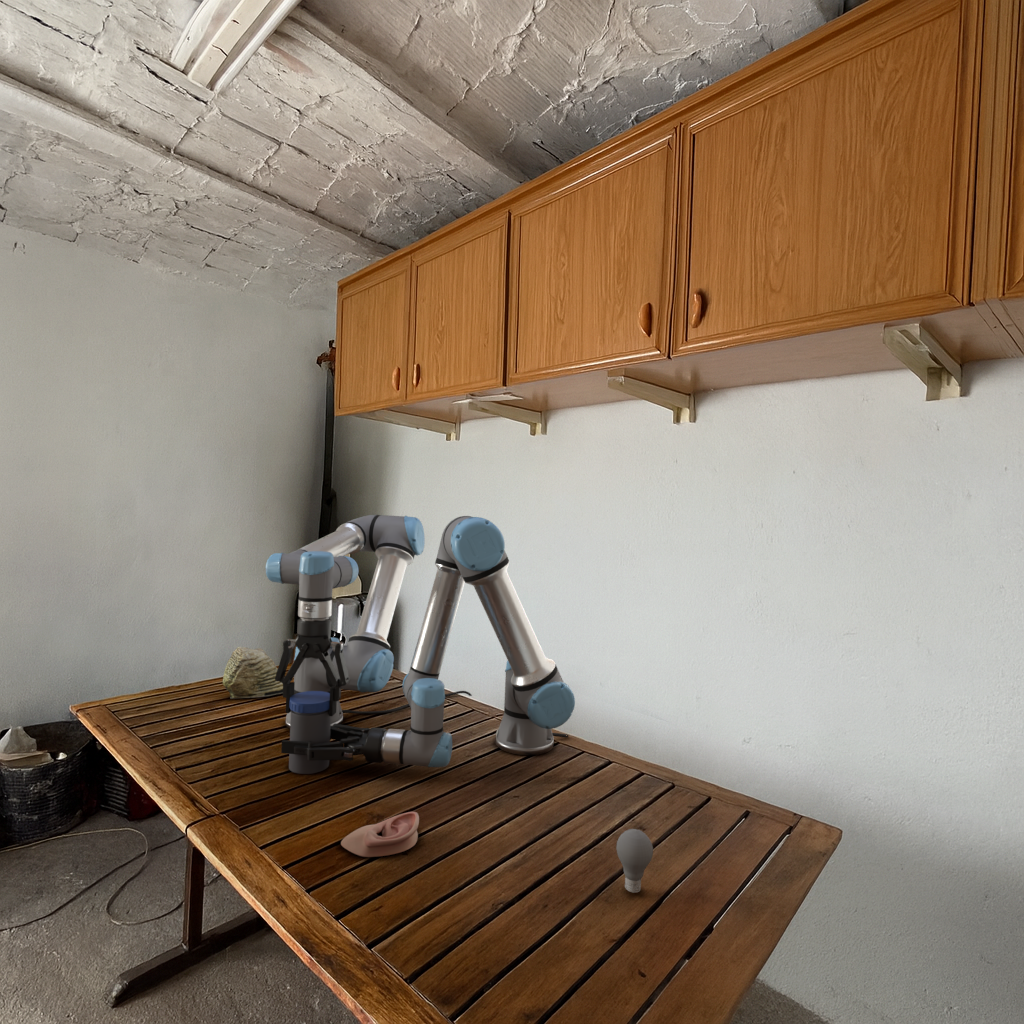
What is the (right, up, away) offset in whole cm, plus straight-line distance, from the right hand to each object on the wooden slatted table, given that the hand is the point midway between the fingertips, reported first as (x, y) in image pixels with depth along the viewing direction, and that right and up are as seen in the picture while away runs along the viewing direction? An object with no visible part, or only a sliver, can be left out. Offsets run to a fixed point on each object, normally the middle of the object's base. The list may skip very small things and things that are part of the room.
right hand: (291, 738), depth 149 cm
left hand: (+5, +6, 0) cm, 8 cm away
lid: (+5, +9, -1) cm, 11 cm away
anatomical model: (+27, -8, -32) cm, 43 cm away
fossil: (-29, -4, +49) cm, 57 cm away
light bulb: (+72, -10, -43) cm, 85 cm away
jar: (+4, -6, 0) cm, 8 cm away
